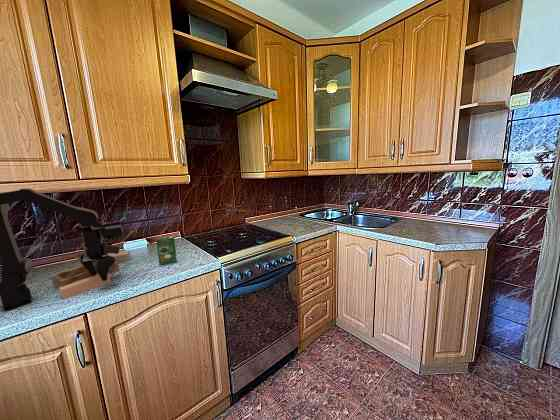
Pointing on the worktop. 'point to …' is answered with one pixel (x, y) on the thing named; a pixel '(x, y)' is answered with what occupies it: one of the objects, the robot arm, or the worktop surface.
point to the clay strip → (82, 286)
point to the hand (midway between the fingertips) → (99, 278)
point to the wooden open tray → (77, 275)
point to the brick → (121, 256)
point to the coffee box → (166, 250)
